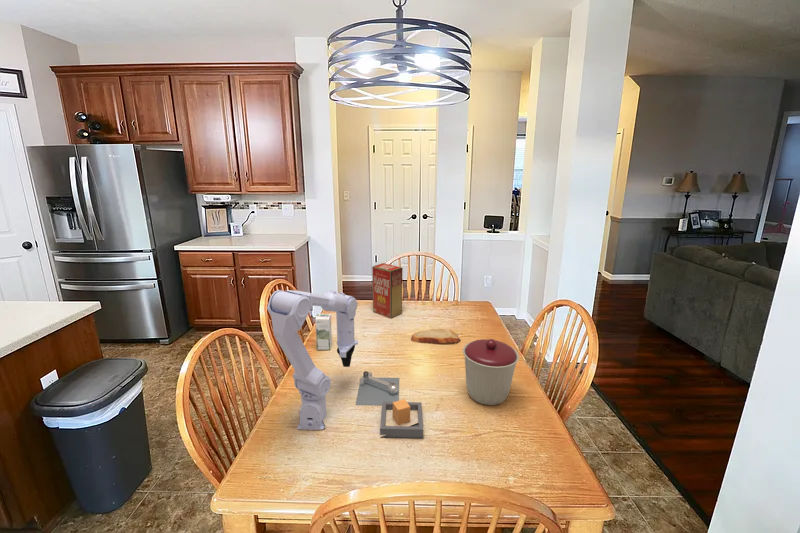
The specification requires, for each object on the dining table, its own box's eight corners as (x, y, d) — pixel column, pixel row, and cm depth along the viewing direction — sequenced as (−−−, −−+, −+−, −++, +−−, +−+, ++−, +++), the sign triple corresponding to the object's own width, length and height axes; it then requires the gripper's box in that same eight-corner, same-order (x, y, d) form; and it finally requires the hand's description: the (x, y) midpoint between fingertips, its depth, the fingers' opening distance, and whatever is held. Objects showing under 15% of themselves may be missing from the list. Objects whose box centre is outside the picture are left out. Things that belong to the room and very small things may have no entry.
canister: (493, 376, 141) (498, 324, 135) (525, 405, 125) (532, 348, 119) (450, 386, 135) (453, 332, 129) (478, 418, 119) (483, 358, 113)
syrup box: (332, 344, 164) (331, 312, 160) (330, 350, 158) (329, 318, 154) (319, 344, 164) (317, 312, 160) (316, 350, 158) (314, 318, 154)
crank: (401, 390, 130) (401, 380, 129) (393, 397, 126) (393, 388, 125) (368, 377, 137) (368, 368, 136) (359, 384, 133) (359, 375, 132)
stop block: (404, 415, 119) (404, 399, 117) (409, 423, 115) (410, 406, 113) (392, 419, 117) (392, 402, 115) (397, 427, 113) (398, 410, 112)
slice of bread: (407, 339, 170) (407, 332, 169) (433, 327, 182) (433, 320, 181) (438, 354, 157) (438, 346, 156) (464, 340, 170) (464, 332, 168)
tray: (423, 438, 110) (423, 429, 109) (380, 438, 110) (380, 428, 109) (421, 411, 122) (421, 402, 121) (382, 410, 122) (382, 401, 121)
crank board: (398, 409, 123) (398, 402, 122) (355, 408, 123) (355, 401, 122) (399, 380, 138) (399, 374, 137) (360, 380, 138) (360, 374, 137)
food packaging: (371, 312, 198) (371, 265, 191) (384, 306, 205) (384, 262, 198) (391, 319, 190) (391, 271, 183) (403, 313, 197) (403, 267, 190)
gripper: (354, 339, 119) (355, 377, 123) (360, 320, 133) (360, 355, 137) (332, 339, 119) (334, 377, 123) (339, 320, 133) (341, 354, 137)
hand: (346, 365), depth 130 cm, fingers closed
